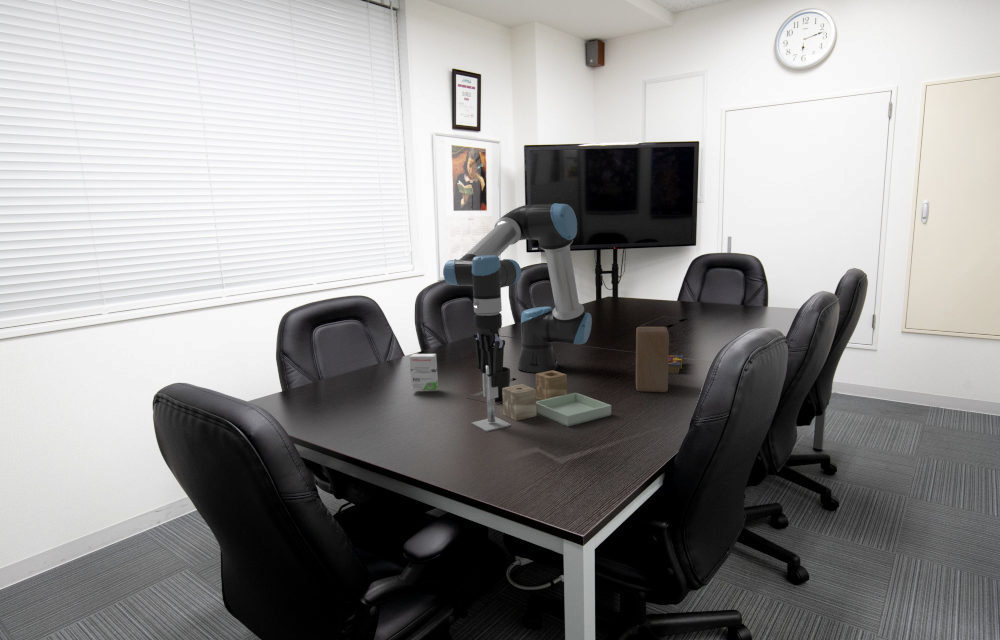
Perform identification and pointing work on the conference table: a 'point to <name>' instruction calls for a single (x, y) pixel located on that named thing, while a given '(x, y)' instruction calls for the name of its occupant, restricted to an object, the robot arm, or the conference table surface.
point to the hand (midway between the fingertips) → (490, 396)
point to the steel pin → (490, 401)
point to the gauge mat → (491, 424)
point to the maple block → (519, 402)
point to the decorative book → (674, 364)
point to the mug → (503, 382)
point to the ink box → (423, 372)
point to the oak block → (550, 384)
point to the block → (652, 359)
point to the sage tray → (572, 409)
